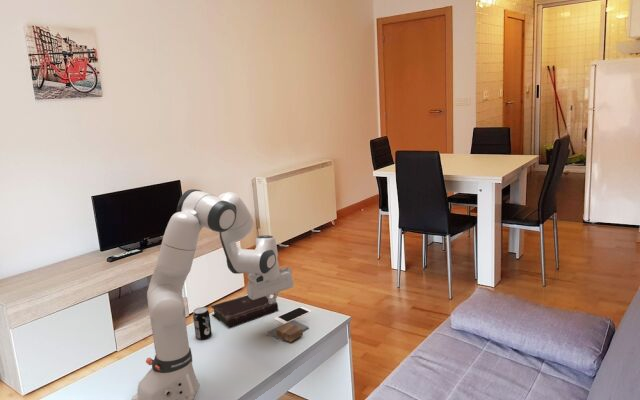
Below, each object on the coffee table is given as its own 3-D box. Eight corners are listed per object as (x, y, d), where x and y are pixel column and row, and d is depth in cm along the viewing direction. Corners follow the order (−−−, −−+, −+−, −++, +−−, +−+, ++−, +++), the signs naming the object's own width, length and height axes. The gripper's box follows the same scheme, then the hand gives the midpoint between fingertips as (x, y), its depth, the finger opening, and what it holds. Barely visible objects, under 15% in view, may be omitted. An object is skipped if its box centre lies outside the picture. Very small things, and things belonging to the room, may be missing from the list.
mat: (282, 341, 206) (282, 339, 205) (267, 333, 213) (267, 331, 213) (308, 328, 215) (308, 326, 214) (293, 321, 222) (293, 319, 222)
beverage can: (213, 332, 217) (210, 306, 214) (209, 340, 211) (205, 313, 208) (198, 332, 218) (195, 306, 215) (193, 340, 211) (190, 313, 209)
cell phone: (273, 319, 226) (273, 318, 226) (301, 307, 236) (301, 306, 236) (284, 325, 220) (284, 323, 220) (312, 312, 231) (312, 310, 230)
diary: (278, 312, 233) (277, 302, 232) (229, 330, 219) (227, 319, 218) (258, 299, 248) (257, 289, 247) (210, 315, 234) (209, 305, 233)
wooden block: (302, 328, 207) (288, 322, 213) (290, 335, 202) (275, 329, 208) (302, 334, 208) (288, 329, 213) (290, 342, 203) (276, 336, 208)
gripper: (287, 263, 222) (290, 293, 225) (243, 276, 211) (247, 307, 215) (294, 267, 216) (297, 298, 220) (250, 281, 206) (254, 312, 209)
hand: (272, 302), depth 217 cm, fingers closed
